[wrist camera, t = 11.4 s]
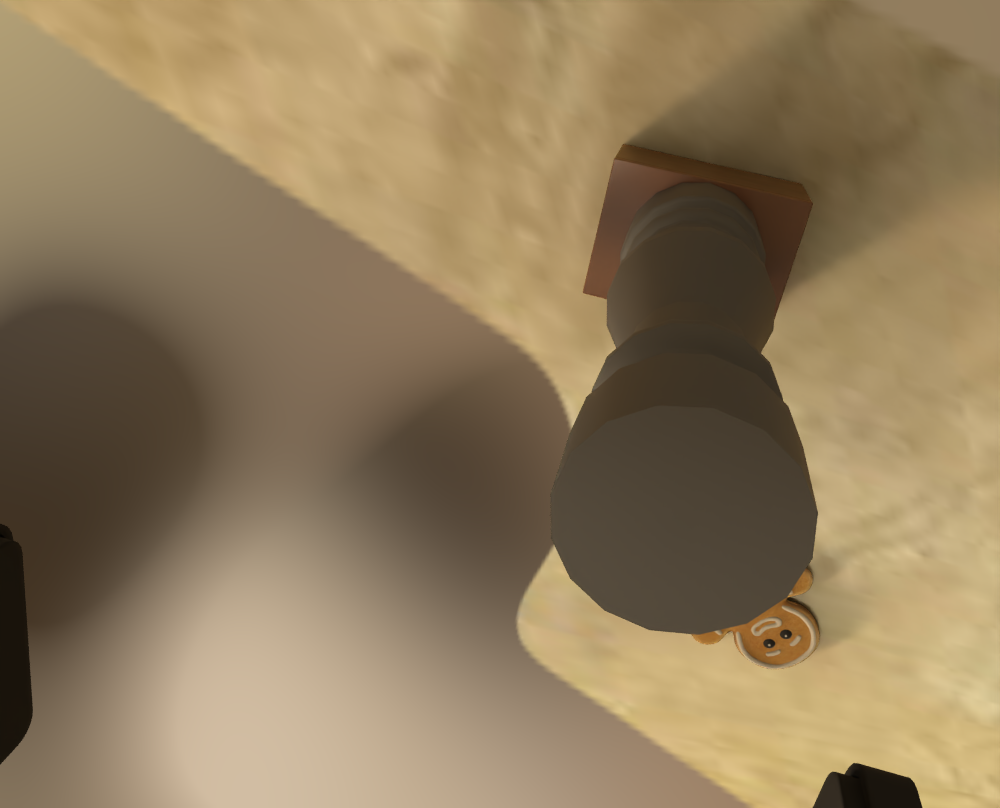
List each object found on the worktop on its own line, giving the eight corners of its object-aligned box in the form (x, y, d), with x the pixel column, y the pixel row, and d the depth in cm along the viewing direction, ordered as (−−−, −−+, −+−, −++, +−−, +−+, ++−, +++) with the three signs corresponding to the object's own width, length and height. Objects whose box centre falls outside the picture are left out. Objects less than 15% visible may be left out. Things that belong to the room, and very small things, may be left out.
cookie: (753, 511, 51) (862, 635, 53) (752, 503, 52) (859, 625, 53) (638, 584, 54) (743, 697, 56) (639, 575, 55) (743, 687, 57)
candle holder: (641, 168, 41) (565, 362, 19) (778, 196, 40) (873, 431, 18) (612, 298, 44) (515, 604, 21) (741, 326, 43) (782, 674, 21)
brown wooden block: (623, 143, 46) (614, 158, 41) (802, 183, 45) (813, 203, 40) (593, 266, 48) (582, 293, 44) (762, 307, 47) (768, 338, 43)
